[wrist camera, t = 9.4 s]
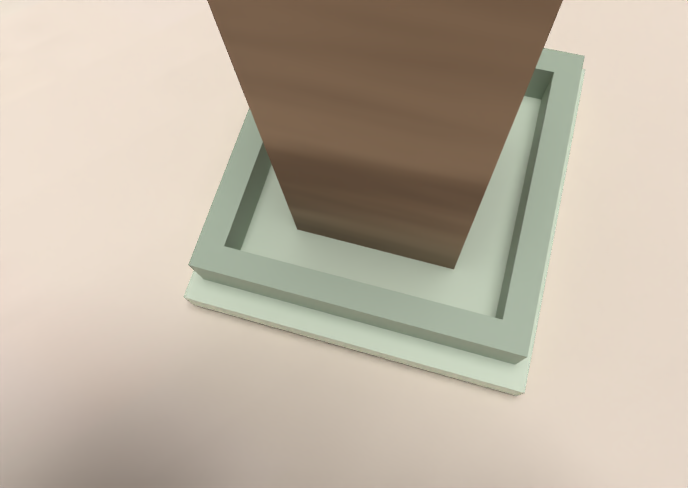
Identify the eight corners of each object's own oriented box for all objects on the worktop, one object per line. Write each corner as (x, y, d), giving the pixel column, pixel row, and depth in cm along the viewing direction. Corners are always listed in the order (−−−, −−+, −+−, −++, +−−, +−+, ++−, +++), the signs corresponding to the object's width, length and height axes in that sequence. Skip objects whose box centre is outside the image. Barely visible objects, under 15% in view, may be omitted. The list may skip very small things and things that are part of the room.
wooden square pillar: (453, 269, 18) (602, -100, 6) (297, 229, 18) (140, -171, 6) (488, 128, 19) (663, -399, 7) (342, 96, 20) (280, -428, 8)
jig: (516, 396, 17) (538, 388, 15) (193, 304, 19) (166, 284, 16) (575, 86, 20) (600, 40, 18) (296, 30, 22) (286, -20, 20)
